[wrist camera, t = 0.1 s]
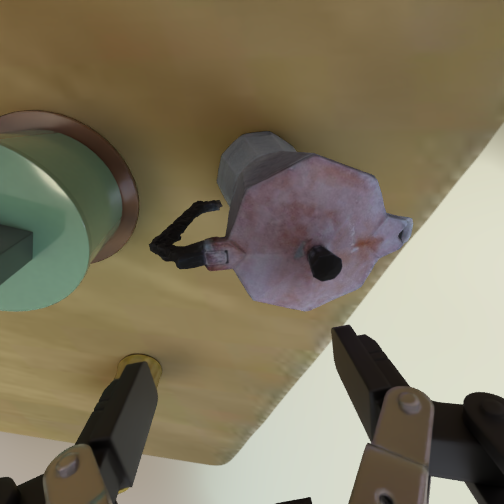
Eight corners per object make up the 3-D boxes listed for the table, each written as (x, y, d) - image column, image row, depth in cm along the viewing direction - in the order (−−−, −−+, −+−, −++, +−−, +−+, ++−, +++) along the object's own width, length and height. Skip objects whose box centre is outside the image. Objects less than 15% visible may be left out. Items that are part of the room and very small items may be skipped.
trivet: (-35, 83, 26) (-41, 82, 25) (151, 143, 29) (150, 144, 29) (-25, 242, 32) (-29, 245, 32) (127, 276, 36) (125, 279, 35)
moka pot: (327, 209, 34) (442, 326, 16) (194, 229, 34) (161, 372, 16) (326, 119, 29) (483, 141, 12) (173, 141, 29) (95, 200, 11)
